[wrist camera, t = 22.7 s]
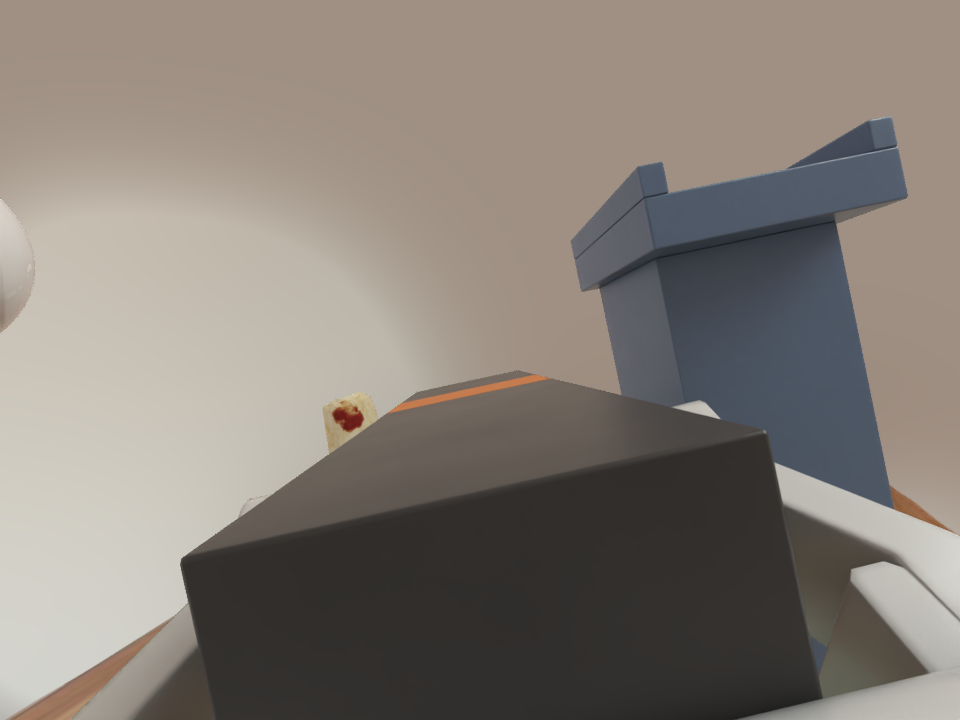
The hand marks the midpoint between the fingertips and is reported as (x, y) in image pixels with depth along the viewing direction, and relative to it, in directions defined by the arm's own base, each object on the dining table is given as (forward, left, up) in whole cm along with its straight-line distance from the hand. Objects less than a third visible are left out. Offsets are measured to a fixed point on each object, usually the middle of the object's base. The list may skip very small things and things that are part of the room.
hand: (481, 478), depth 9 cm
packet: (+3, +3, -2) cm, 5 cm away
